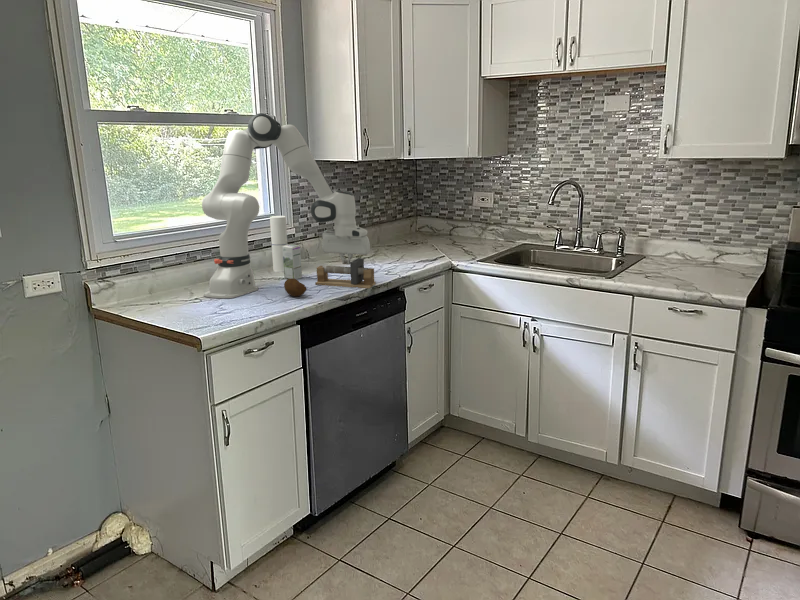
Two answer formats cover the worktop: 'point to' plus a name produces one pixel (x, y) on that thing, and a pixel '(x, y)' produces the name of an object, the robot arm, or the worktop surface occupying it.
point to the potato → (294, 287)
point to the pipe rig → (323, 280)
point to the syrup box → (292, 261)
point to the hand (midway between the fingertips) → (346, 264)
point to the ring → (356, 270)
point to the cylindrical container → (278, 241)
